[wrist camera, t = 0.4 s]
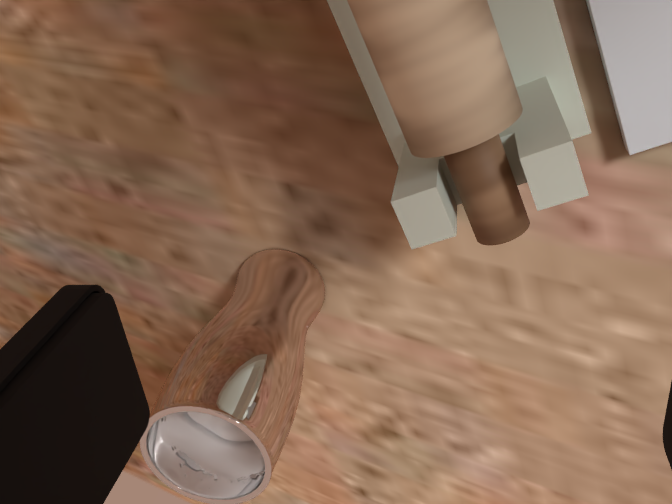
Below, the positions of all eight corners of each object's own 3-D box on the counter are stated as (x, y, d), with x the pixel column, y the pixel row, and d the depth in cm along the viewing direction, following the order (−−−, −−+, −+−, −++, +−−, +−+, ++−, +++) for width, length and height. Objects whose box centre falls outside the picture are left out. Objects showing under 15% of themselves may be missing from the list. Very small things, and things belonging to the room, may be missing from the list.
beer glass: (243, 329, 46) (157, 504, 33) (221, 244, 42) (116, 402, 29) (339, 328, 44) (287, 512, 31) (324, 240, 41) (260, 404, 28)
